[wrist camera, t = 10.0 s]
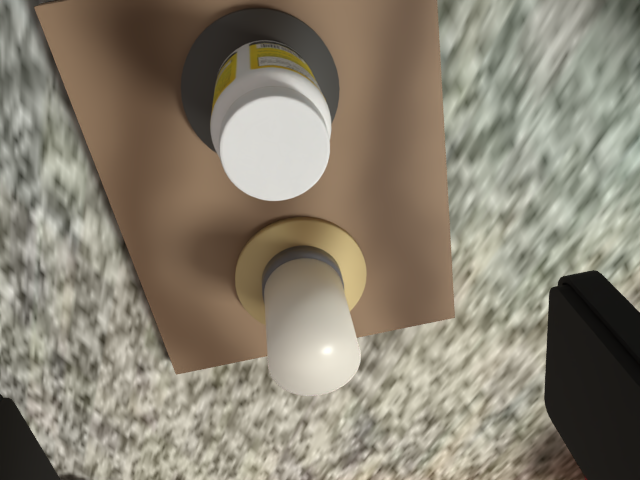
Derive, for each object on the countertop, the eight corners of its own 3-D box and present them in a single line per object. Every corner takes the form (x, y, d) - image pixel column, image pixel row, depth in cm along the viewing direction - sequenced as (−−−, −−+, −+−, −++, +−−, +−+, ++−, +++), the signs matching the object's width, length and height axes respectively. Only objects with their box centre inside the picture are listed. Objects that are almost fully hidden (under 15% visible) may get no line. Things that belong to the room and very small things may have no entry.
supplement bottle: (242, 152, 29) (242, 230, 22) (197, 64, 27) (180, 119, 20) (330, 113, 29) (359, 180, 21) (291, 21, 26) (310, 61, 19)
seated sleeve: (334, 238, 32) (356, 312, 26) (346, 304, 34) (368, 386, 28) (253, 254, 32) (256, 333, 26) (270, 319, 34) (276, 405, 28)
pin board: (425, -70, 27) (437, -69, 25) (449, 306, 38) (457, 323, 36) (42, 3, 26) (29, 8, 25) (178, 361, 37) (175, 381, 36)
